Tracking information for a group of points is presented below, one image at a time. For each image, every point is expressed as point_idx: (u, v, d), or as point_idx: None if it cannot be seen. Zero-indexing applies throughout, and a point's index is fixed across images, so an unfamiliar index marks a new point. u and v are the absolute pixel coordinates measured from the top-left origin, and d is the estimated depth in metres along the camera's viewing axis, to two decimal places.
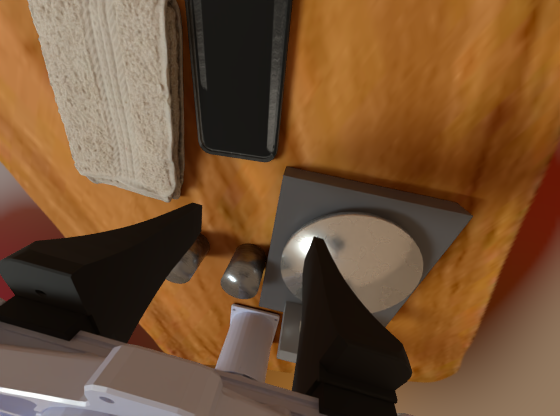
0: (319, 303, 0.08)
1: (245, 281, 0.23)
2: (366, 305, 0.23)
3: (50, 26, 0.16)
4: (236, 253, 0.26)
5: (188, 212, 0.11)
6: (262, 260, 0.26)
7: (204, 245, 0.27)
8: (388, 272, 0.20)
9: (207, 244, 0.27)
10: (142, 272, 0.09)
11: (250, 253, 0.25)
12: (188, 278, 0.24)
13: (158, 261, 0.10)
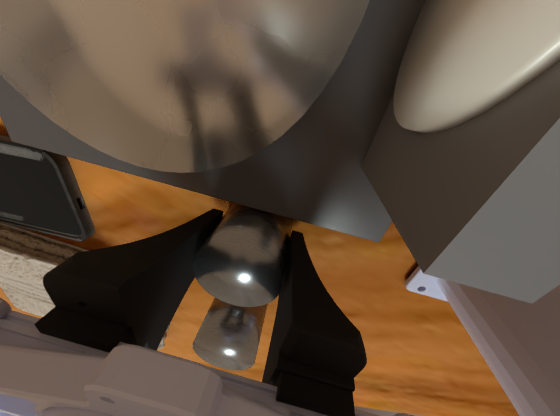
0: (287, 294, 0.08)
1: (215, 261, 0.10)
2: None
3: (31, 309, 0.21)
4: None
5: (212, 219, 0.11)
6: None
7: None
8: None
9: None
10: (172, 280, 0.09)
11: None
12: (237, 343, 0.13)
13: (185, 269, 0.10)
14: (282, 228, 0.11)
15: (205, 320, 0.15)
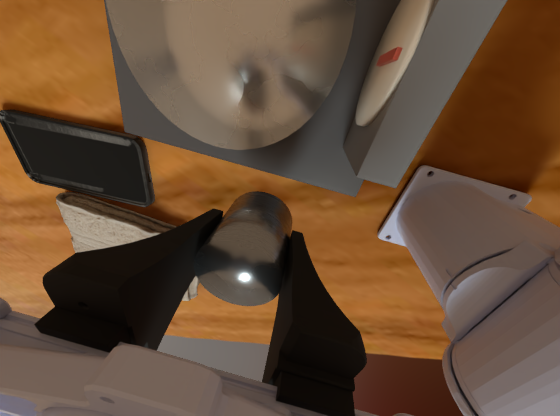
0: (287, 294, 0.08)
1: (215, 261, 0.10)
2: None
3: None
4: None
5: (212, 219, 0.11)
6: (240, 203, 0.12)
7: None
8: None
9: None
10: (172, 281, 0.09)
11: None
12: None
13: (185, 269, 0.10)
14: (283, 227, 0.11)
15: None
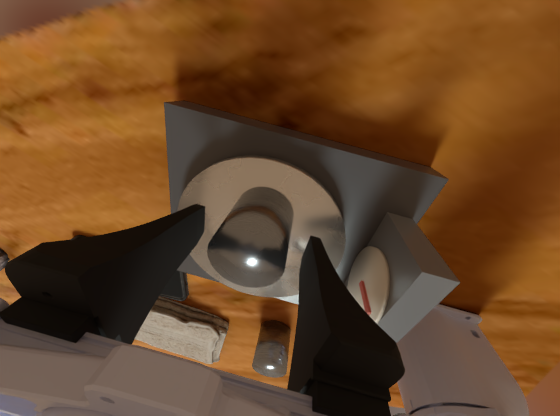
0: (314, 302, 0.08)
1: (226, 247, 0.11)
2: (320, 220, 0.15)
3: None
4: None
5: (192, 213, 0.11)
6: (245, 197, 0.13)
7: (270, 327, 0.28)
8: None
9: (273, 323, 0.29)
10: (147, 273, 0.09)
11: None
12: (278, 364, 0.25)
13: (162, 262, 0.10)
14: (284, 216, 0.13)
15: (258, 350, 0.27)
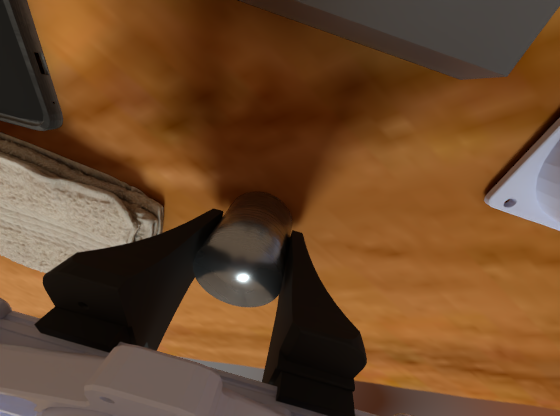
0: (287, 294, 0.08)
1: None
2: None
3: None
4: None
5: (212, 219, 0.11)
6: None
7: (248, 199, 0.12)
8: None
9: (255, 194, 0.13)
10: (172, 281, 0.09)
11: None
12: (260, 256, 0.09)
13: (185, 269, 0.10)
14: None
15: (212, 233, 0.10)
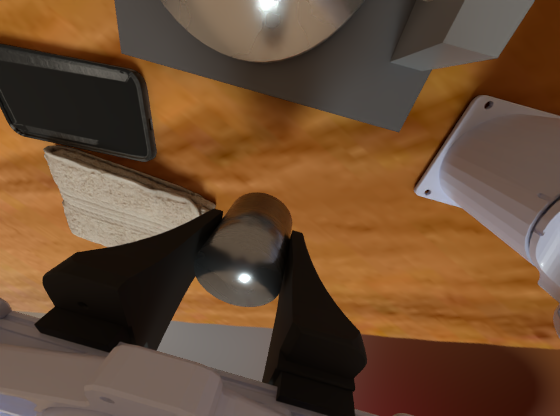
0: (287, 294, 0.08)
1: None
2: None
3: (89, 233, 0.25)
4: None
5: (212, 219, 0.11)
6: None
7: (247, 200, 0.12)
8: None
9: (255, 195, 0.13)
10: (172, 280, 0.09)
11: None
12: (259, 256, 0.09)
13: (185, 269, 0.10)
14: None
15: (212, 234, 0.10)
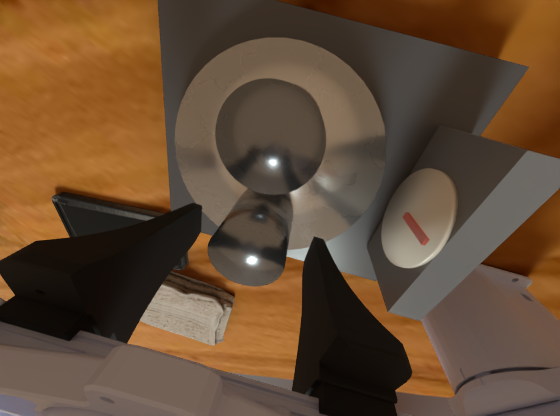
0: (319, 303, 0.08)
1: (242, 121, 0.08)
2: (355, 131, 0.12)
3: None
4: None
5: (188, 212, 0.11)
6: None
7: (252, 192, 0.14)
8: None
9: None
10: (142, 272, 0.09)
11: None
12: (264, 237, 0.10)
13: (158, 261, 0.10)
14: None
15: (222, 222, 0.12)
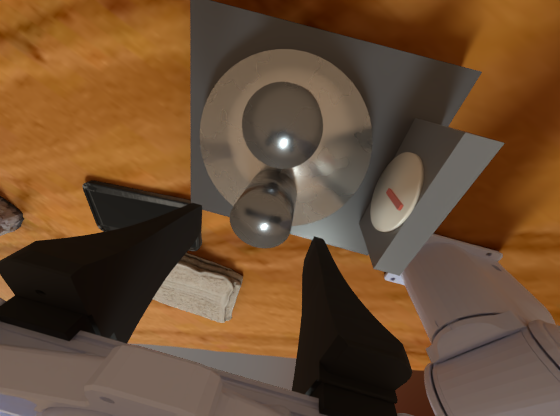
0: (319, 303, 0.08)
1: (262, 112, 0.11)
2: (347, 122, 0.15)
3: None
4: None
5: (188, 212, 0.11)
6: None
7: (263, 174, 0.17)
8: None
9: (268, 171, 0.17)
10: (142, 272, 0.09)
11: None
12: (275, 204, 0.13)
13: (158, 261, 0.10)
14: None
15: (241, 195, 0.15)
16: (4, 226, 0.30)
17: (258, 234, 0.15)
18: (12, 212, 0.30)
